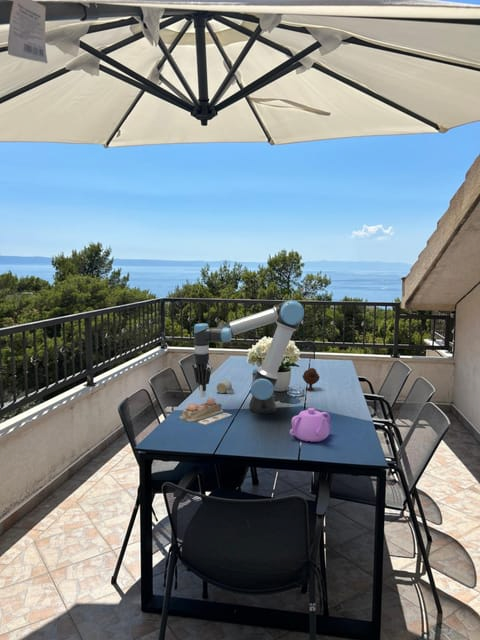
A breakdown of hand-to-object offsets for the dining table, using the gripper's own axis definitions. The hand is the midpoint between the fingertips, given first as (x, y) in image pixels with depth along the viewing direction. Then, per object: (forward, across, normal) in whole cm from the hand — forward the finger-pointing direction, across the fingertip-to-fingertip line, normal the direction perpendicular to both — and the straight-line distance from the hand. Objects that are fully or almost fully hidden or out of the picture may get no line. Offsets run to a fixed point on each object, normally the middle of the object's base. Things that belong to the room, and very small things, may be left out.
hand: (202, 396), depth 245 cm
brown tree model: (+12, -15, -84) cm, 86 cm away
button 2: (+7, +1, -7) cm, 9 cm away
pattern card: (+10, -9, 0) cm, 14 cm away
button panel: (+10, +1, 0) cm, 10 cm away
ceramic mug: (+11, +21, -42) cm, 48 cm away
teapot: (+12, -62, -10) cm, 64 cm away
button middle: (+8, +1, 0) cm, 8 cm away
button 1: (+7, +1, +7) cm, 10 cm away
